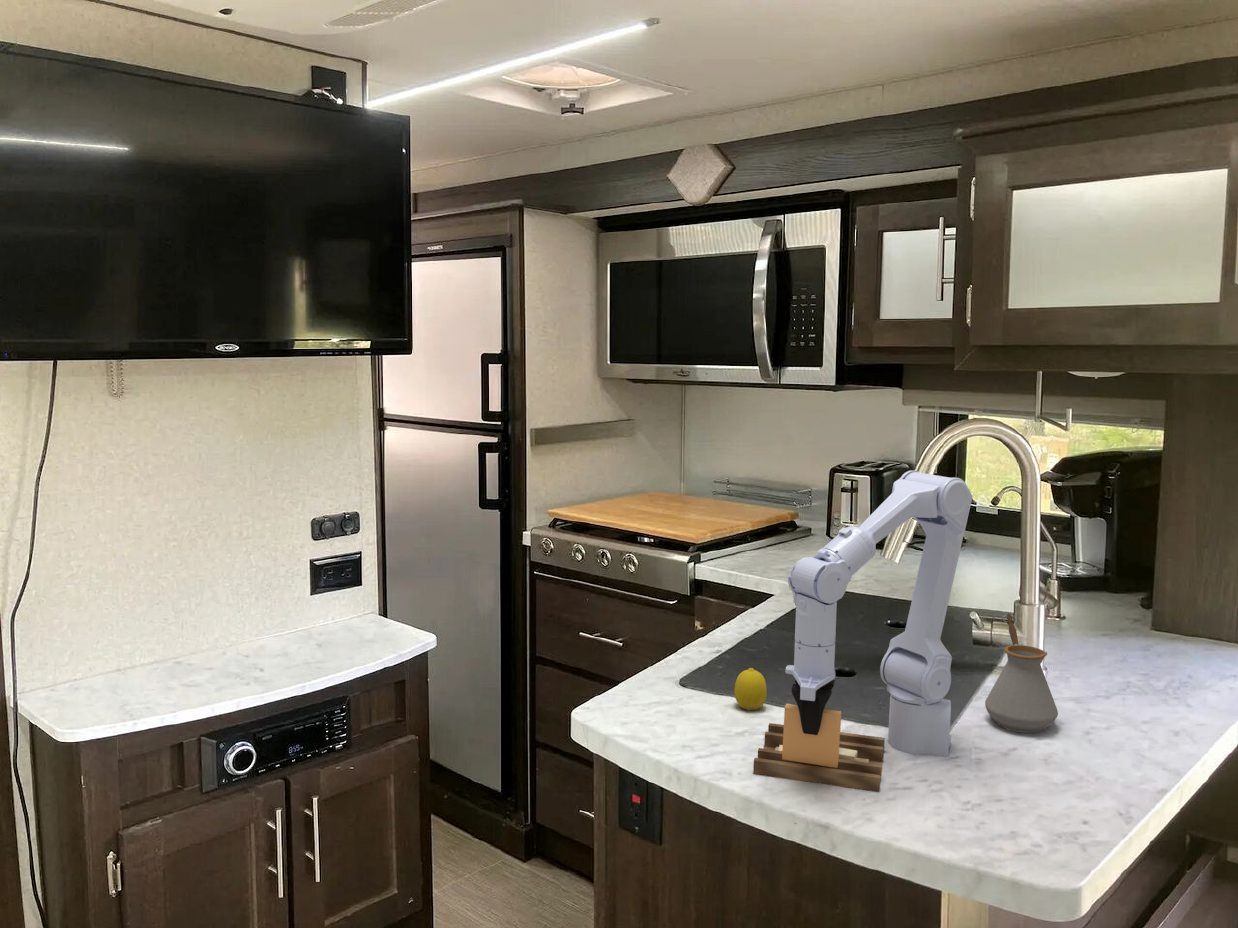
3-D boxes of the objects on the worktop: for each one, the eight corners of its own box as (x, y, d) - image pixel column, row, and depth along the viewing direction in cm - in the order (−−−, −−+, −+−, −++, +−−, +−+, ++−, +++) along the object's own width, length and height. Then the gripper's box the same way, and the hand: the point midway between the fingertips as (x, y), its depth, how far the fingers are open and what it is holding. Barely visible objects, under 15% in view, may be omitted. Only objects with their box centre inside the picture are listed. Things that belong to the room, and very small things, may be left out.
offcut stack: (868, 762, 149) (869, 749, 149) (867, 772, 146) (867, 759, 146) (776, 750, 153) (776, 737, 153) (772, 759, 150) (773, 746, 150)
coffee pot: (1064, 740, 160) (1070, 651, 158) (989, 734, 163) (995, 646, 161) (1036, 693, 181) (1042, 614, 179) (970, 688, 183) (975, 610, 181)
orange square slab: (838, 763, 144) (841, 711, 143) (837, 767, 143) (840, 715, 142) (783, 754, 147) (786, 703, 146) (781, 759, 145) (784, 707, 144)
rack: (884, 752, 155) (885, 734, 155) (878, 798, 140) (879, 778, 140) (770, 737, 160) (770, 720, 160) (752, 780, 145) (753, 760, 145)
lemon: (744, 703, 175) (746, 660, 174) (772, 711, 171) (773, 667, 170) (727, 713, 171) (728, 668, 169) (755, 721, 167) (756, 676, 166)
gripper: (793, 623, 150) (790, 708, 152) (779, 653, 137) (776, 746, 139) (841, 628, 148) (837, 714, 150) (831, 658, 135) (827, 753, 136)
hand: (811, 730), depth 144 cm, fingers closed on orange square slab, 2 cm apart
